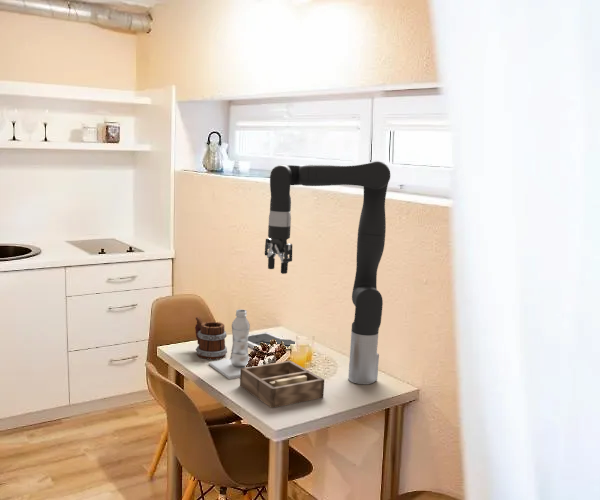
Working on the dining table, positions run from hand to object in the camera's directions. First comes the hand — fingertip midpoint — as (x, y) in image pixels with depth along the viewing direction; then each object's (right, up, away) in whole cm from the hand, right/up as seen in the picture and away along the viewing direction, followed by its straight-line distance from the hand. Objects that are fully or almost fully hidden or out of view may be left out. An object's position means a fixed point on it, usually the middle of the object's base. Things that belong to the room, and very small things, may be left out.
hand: (277, 271), depth 222 cm
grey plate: (-14, -35, +7) cm, 38 cm away
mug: (-27, -32, +21) cm, 47 cm away
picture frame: (-6, -31, +37) cm, 49 cm away
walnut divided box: (+1, -39, -12) cm, 41 cm away
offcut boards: (+5, -40, -17) cm, 43 cm away
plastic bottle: (-14, -34, +7) cm, 37 cm away
